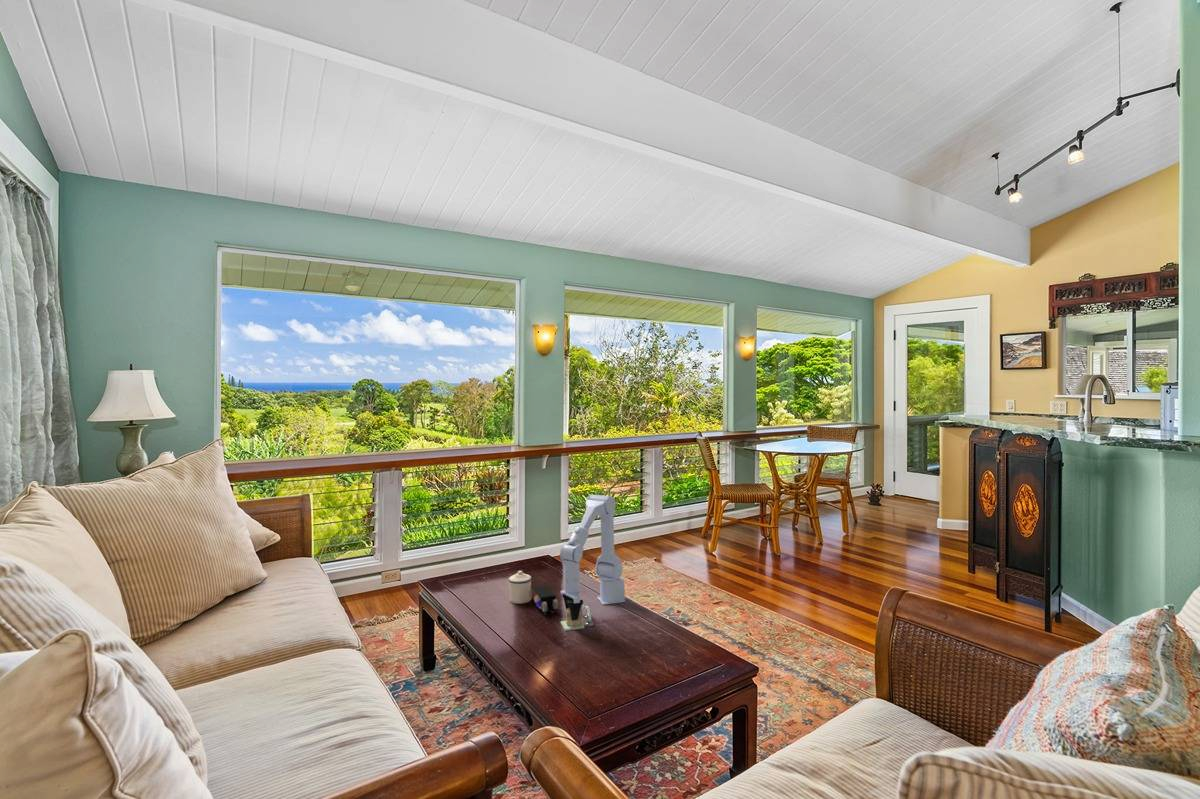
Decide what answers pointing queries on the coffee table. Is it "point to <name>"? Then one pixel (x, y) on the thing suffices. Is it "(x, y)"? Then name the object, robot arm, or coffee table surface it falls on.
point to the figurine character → (545, 598)
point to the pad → (570, 627)
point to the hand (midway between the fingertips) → (572, 615)
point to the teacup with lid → (520, 588)
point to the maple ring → (575, 622)
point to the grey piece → (587, 615)
